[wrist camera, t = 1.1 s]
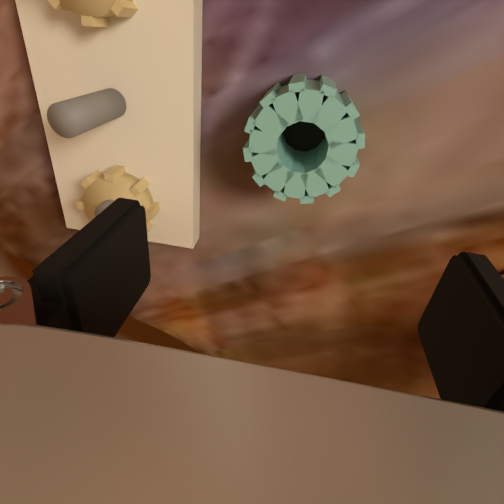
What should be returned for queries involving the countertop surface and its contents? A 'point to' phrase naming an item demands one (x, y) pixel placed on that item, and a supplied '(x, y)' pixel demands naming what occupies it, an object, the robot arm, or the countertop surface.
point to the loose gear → (304, 162)
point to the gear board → (151, 103)
